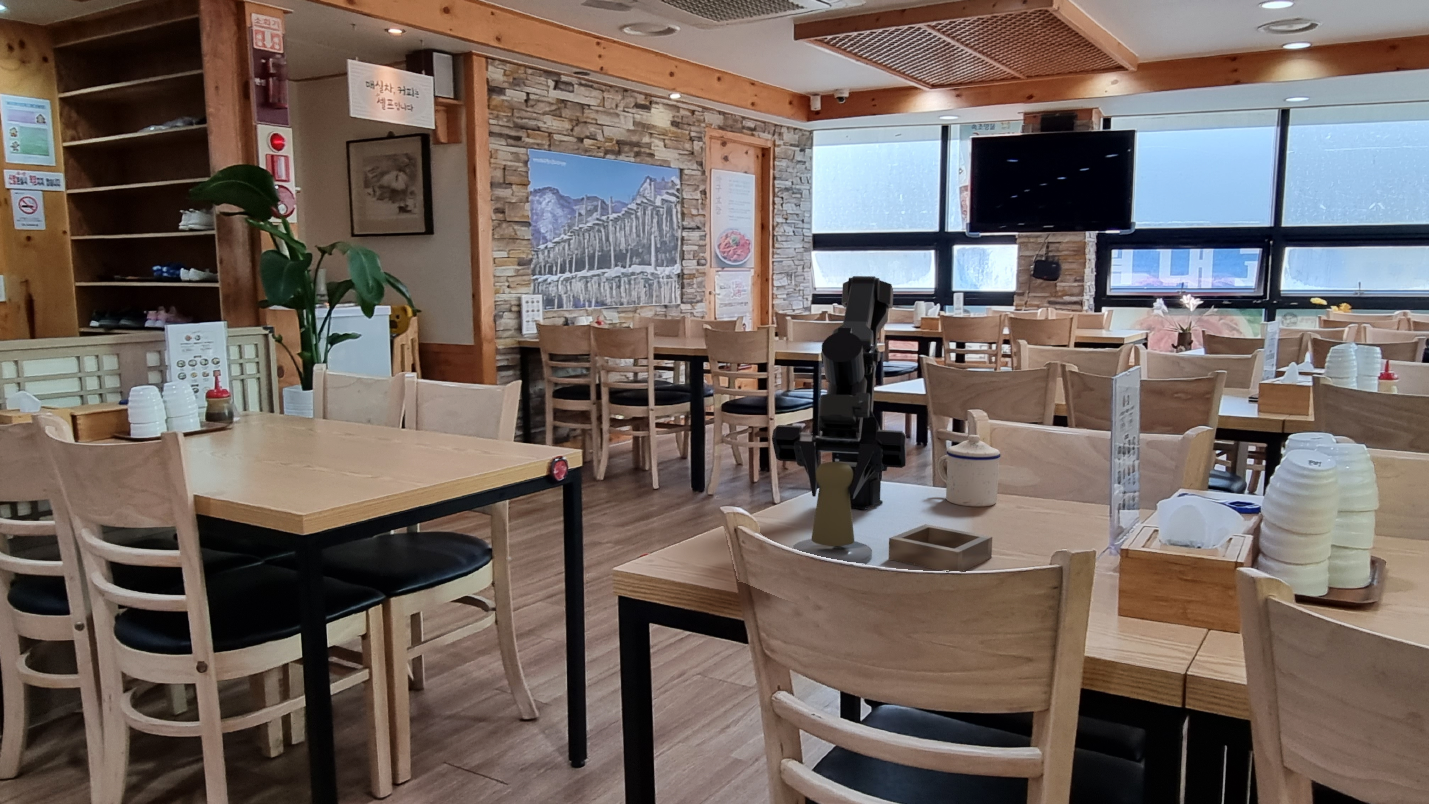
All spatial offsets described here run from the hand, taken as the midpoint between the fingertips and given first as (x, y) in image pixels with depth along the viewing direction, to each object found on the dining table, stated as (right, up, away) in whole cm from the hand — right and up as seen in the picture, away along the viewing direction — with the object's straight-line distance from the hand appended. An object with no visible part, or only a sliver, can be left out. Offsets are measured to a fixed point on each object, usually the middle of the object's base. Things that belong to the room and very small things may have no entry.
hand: (832, 496), depth 139 cm
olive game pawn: (0, -7, +2) cm, 7 cm away
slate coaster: (0, -9, +2) cm, 9 cm away
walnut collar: (+15, -9, +2) cm, 18 cm away
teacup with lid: (+28, -4, +38) cm, 47 cm away
